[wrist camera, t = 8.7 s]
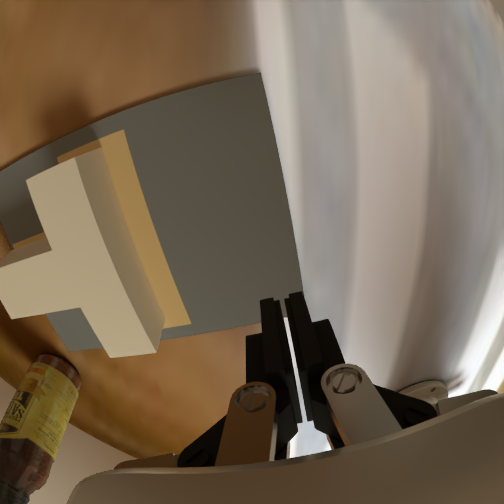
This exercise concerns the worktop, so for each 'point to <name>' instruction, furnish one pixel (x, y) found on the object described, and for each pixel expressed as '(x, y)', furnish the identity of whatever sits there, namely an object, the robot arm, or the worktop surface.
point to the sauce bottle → (35, 427)
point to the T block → (84, 260)
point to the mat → (183, 205)
